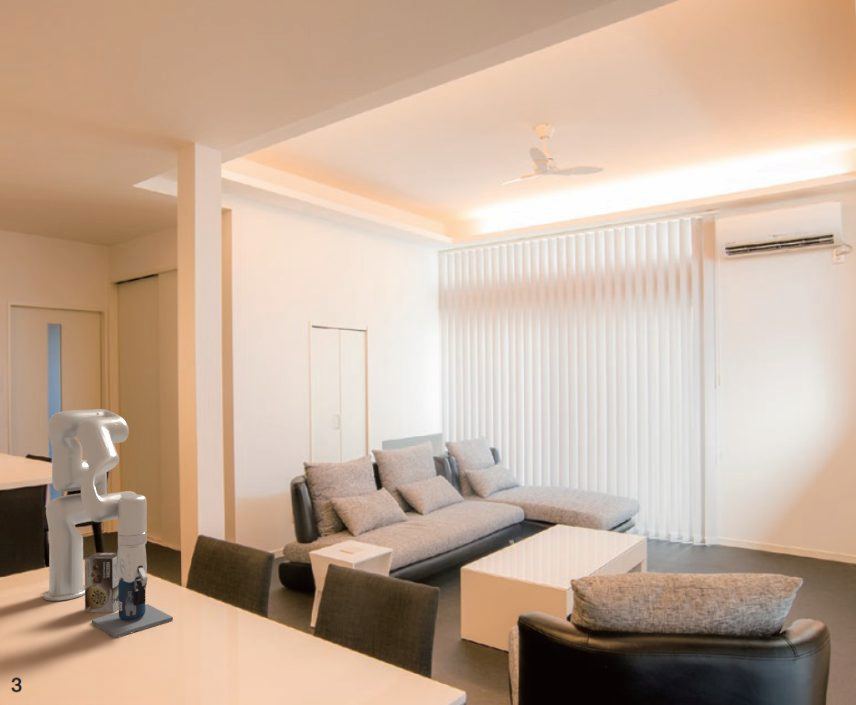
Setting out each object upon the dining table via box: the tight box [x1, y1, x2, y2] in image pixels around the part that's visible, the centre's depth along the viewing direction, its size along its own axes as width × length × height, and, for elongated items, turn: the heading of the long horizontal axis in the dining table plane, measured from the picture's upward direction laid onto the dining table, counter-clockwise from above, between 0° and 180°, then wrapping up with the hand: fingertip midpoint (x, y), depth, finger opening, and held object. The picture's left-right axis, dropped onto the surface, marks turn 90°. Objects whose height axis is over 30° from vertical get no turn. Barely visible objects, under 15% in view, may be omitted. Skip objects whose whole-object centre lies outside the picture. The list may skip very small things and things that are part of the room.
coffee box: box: [84, 552, 119, 613], centre depth 194 cm, size 9×6×16 cm
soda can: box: [118, 578, 146, 622], centre depth 183 cm, size 7×7×12 cm
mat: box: [91, 603, 174, 638], centre depth 183 cm, size 16×16×1 cm
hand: (132, 600), depth 183 cm, fingers open, 8 cm apart
